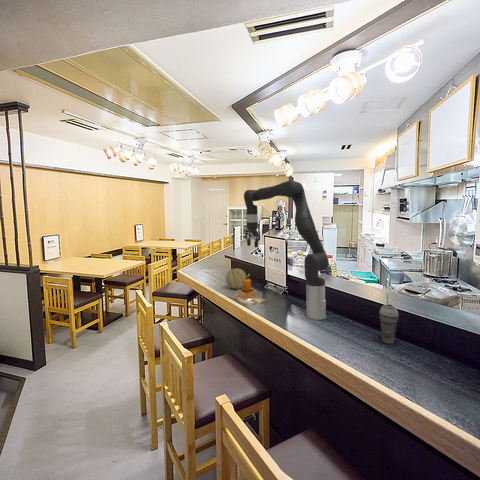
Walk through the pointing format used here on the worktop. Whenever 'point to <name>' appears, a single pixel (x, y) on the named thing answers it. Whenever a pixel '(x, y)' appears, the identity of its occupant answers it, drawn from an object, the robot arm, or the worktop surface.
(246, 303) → the base board
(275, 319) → the worktop surface
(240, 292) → the socket collar
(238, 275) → the cantaloupe
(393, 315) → the beverage cup
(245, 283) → the carrot
